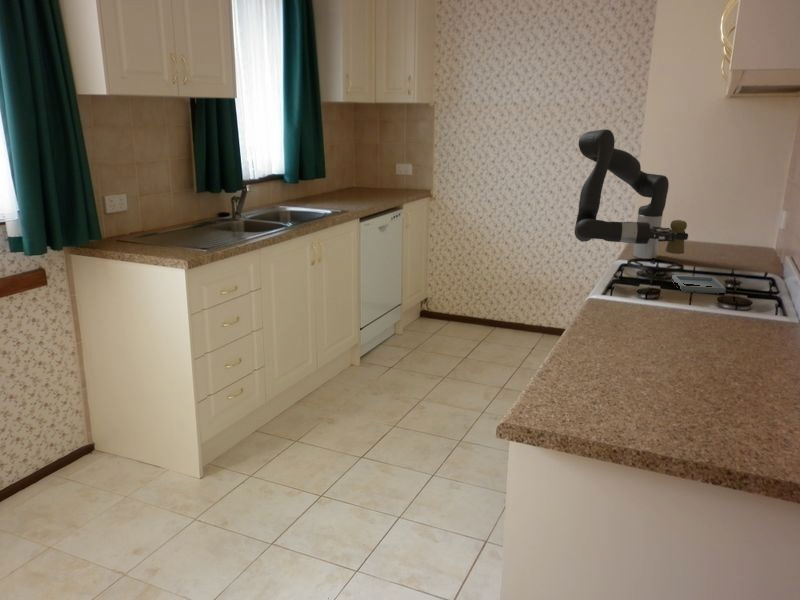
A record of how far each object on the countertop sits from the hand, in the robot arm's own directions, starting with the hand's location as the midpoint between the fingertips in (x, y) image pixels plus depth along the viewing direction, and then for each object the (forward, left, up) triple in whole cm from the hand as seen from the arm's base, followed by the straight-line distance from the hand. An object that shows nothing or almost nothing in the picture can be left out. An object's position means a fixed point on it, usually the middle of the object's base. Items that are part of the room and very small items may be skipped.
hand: (685, 235), depth 225 cm
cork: (0, -3, -6) cm, 7 cm away
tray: (+2, +6, -18) cm, 19 cm away
